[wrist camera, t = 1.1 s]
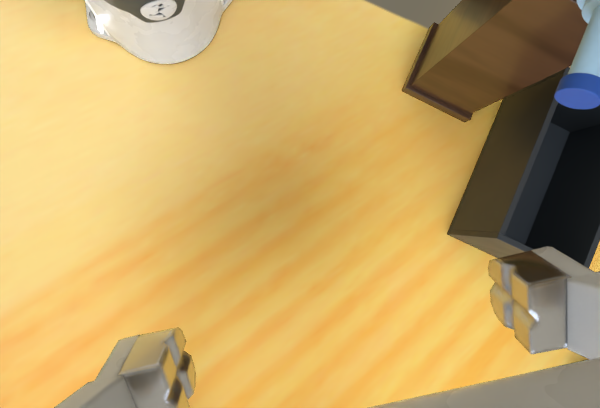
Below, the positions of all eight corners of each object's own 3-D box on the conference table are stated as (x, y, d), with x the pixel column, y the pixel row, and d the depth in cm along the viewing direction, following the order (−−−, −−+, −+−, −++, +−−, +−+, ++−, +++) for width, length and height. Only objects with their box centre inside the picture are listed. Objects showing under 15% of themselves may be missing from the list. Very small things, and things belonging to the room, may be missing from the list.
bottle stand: (464, 122, 57) (658, 34, 30) (401, 90, 56) (541, -30, 29) (491, 59, 58) (704, -83, 31) (429, 27, 57) (591, -149, 30)
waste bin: (517, 267, 57) (584, 280, 46) (446, 234, 56) (496, 238, 45) (572, 130, 59) (650, 109, 47) (504, 96, 58) (566, 65, 46)
